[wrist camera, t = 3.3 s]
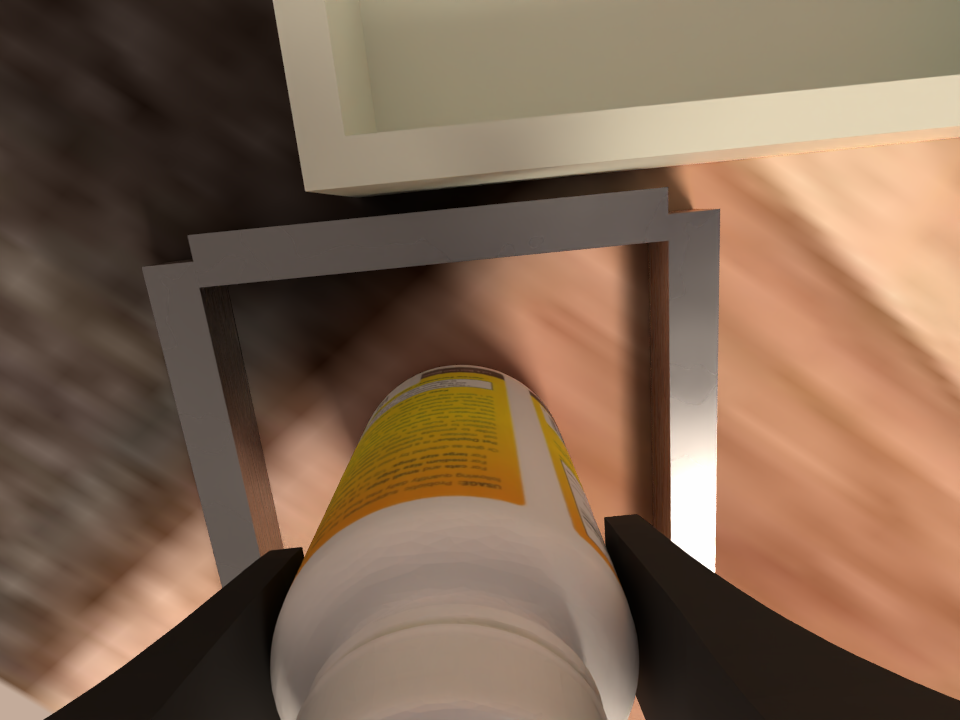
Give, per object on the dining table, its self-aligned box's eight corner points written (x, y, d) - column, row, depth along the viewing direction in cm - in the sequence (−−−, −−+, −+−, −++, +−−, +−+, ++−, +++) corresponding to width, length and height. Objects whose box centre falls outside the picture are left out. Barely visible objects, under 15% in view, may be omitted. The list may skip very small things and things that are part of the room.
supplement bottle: (327, 472, 16) (92, 897, 6) (440, 318, 15) (378, 533, 5) (483, 572, 17) (498, 1081, 7) (601, 434, 16) (816, 810, 6)
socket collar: (694, 184, 14) (720, 181, 13) (693, 627, 18) (713, 664, 16) (168, 237, 14) (134, 240, 13) (270, 669, 18) (253, 710, 16)
